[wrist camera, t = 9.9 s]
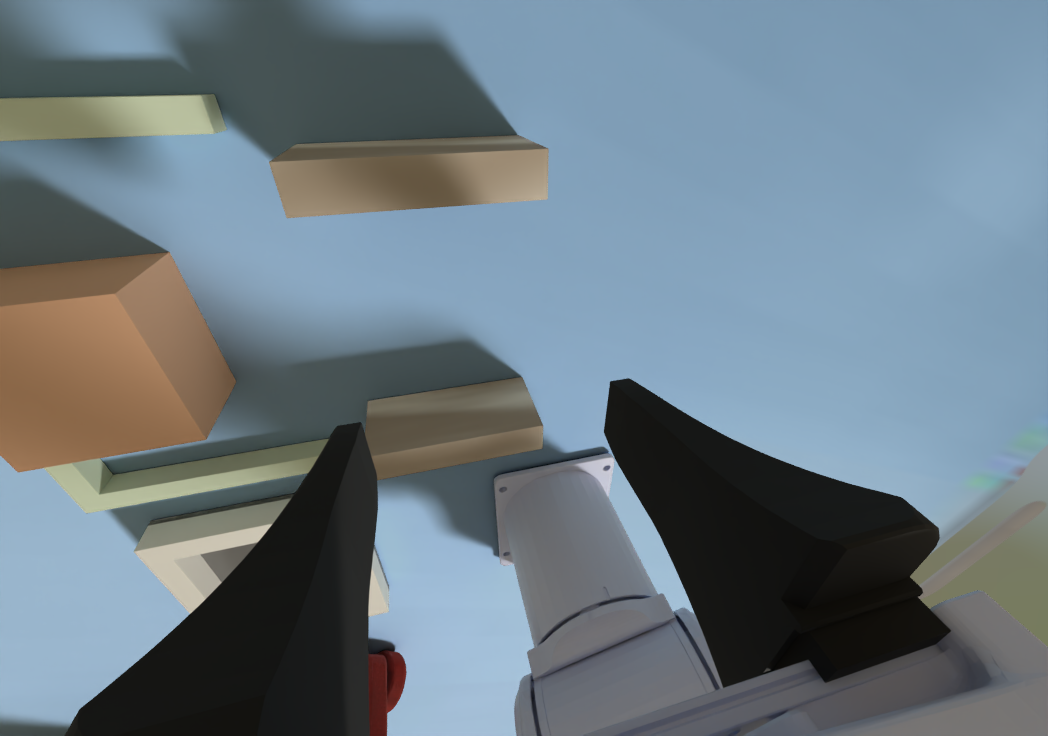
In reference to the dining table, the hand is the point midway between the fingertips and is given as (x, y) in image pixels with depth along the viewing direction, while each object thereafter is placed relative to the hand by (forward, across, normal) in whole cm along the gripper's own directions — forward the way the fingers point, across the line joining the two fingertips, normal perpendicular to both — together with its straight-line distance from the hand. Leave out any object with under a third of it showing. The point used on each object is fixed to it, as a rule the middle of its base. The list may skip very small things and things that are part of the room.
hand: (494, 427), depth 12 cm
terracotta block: (+9, +13, 0) cm, 16 cm away
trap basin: (+9, +12, +16) cm, 22 cm away
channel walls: (+9, +1, 0) cm, 9 cm away
